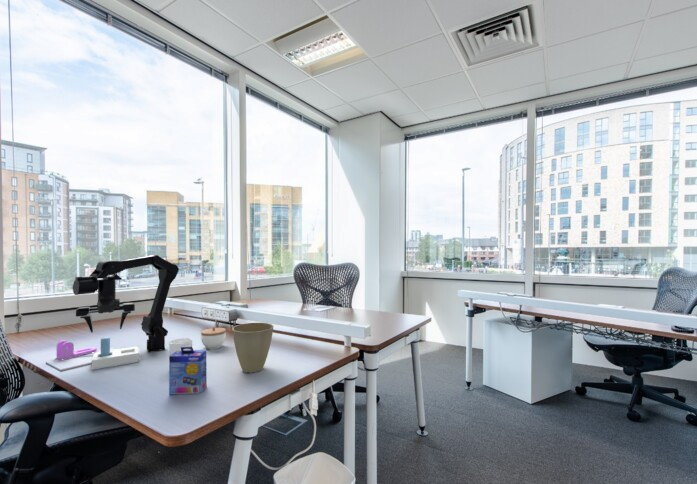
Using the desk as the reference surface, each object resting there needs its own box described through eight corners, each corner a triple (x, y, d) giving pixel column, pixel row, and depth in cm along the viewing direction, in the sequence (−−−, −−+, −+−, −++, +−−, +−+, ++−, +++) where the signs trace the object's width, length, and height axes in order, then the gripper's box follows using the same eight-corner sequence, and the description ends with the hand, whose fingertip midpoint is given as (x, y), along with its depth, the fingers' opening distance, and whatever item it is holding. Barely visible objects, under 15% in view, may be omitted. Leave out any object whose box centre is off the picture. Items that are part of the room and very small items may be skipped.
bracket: (62, 360, 132) (62, 343, 133) (56, 358, 135) (56, 341, 135) (99, 351, 144) (99, 336, 144) (92, 349, 146) (93, 334, 147)
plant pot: (235, 380, 111) (235, 333, 111) (229, 366, 124) (229, 325, 124) (278, 372, 117) (278, 328, 118) (268, 360, 131) (268, 320, 131)
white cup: (196, 364, 126) (196, 339, 126) (180, 371, 119) (180, 344, 119) (181, 362, 129) (181, 337, 129) (164, 369, 121) (164, 342, 121)
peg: (110, 361, 130) (110, 336, 130) (109, 363, 128) (109, 338, 128) (100, 363, 128) (100, 338, 129) (100, 365, 126) (100, 339, 126)
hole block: (138, 354, 139) (138, 346, 139) (139, 361, 130) (139, 352, 130) (94, 361, 130) (94, 352, 130) (91, 369, 121) (91, 360, 121)
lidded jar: (227, 343, 155) (227, 323, 155) (224, 350, 144) (224, 329, 145) (203, 344, 153) (204, 325, 153) (198, 351, 142) (198, 330, 142)
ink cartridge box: (167, 395, 99) (168, 348, 100) (175, 388, 105) (176, 343, 105) (200, 394, 100) (201, 347, 101) (207, 386, 106) (207, 342, 106)
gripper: (74, 296, 118) (73, 339, 117) (135, 291, 128) (135, 331, 128) (77, 293, 127) (77, 332, 126) (134, 289, 138) (134, 325, 137)
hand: (106, 330), depth 129 cm, fingers open, 9 cm apart
